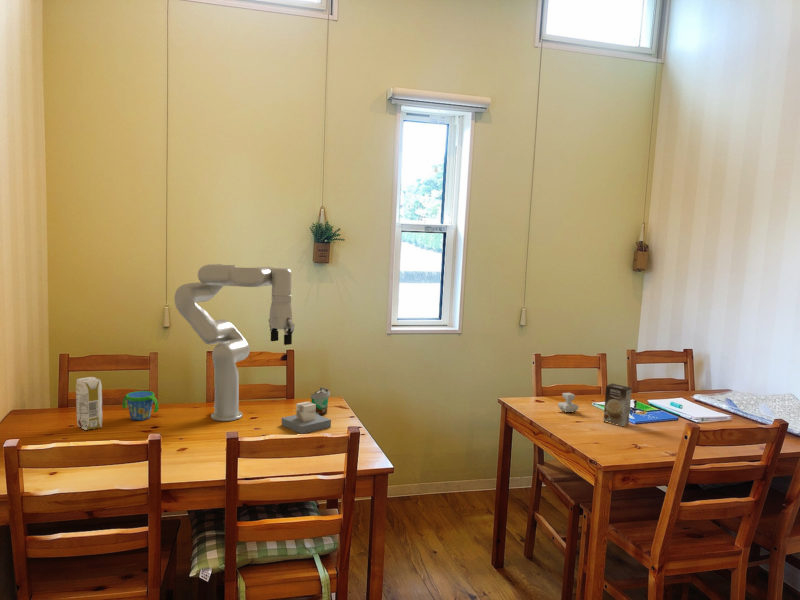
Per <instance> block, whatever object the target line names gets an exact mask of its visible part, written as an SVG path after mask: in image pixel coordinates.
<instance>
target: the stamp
mask: <svg viewBox="0 0 800 600" xmlns="http://www.w3.org/2000/svg"><path fill="white" fill-rule="evenodd" d="M561 395H562V398H563V399H564V400H565V401H562V402H558V403H557V406H558V409H559V410H560V411H562V410H564V411H566V412H572V411H573V412H574V411H578V410H579V408H580V407H579V405H578V404H576V403H573V402H572V401H573V400H575V398H576V395H575V394H574V393H572V392H562V394H561ZM564 411H563V412H564ZM566 412H565V413H566ZM574 413H575V412H574Z"/></svg>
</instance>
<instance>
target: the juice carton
mask: <svg viewBox="0 0 800 600" xmlns="http://www.w3.org/2000/svg"><path fill="white" fill-rule="evenodd" d="M102 385H103V384H102V381H101V379H99V378H97V377H95V376H88V377H87V376H86V377H81V378H76V384H75V405H76V410H75V411H76V423H77V427H78V426H79V427H81V428H82V429H84V430H88V431H90V430H89V429H93V430H96V429H95V428H98V429H100V428H99V427H101V428H102V427H103V388H102V387H103V386H102ZM79 427H78V428H79ZM81 428H80V429H81ZM82 429H81V430H82ZM84 430H83V431H84Z"/></svg>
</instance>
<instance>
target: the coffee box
mask: <svg viewBox="0 0 800 600" xmlns="http://www.w3.org/2000/svg"><path fill="white" fill-rule="evenodd" d="M631 399H632V387H629V386H626V385H621V384H616V383H609V384H607V385H605V397H604V409H603V420H604V421H608V422H611V423H614V424H618V425H621V426H620V427H622V426H624V425H626V424H628V425H629V424H630V415H631V403H632V402H631ZM614 424H613V425H614ZM618 425H617V426H618ZM626 426H627V425H626ZM624 427H625V426H624Z"/></svg>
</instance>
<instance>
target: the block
mask: <svg viewBox="0 0 800 600" xmlns="http://www.w3.org/2000/svg"><path fill="white" fill-rule="evenodd" d="M295 411H296V412H295V413H296V414H295V415H296V418H297V419H299V420H301V421H304V422H305V421H310V420H314V419H316V404H313V403H311V401H305V402H298V403H296V410H295Z"/></svg>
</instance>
